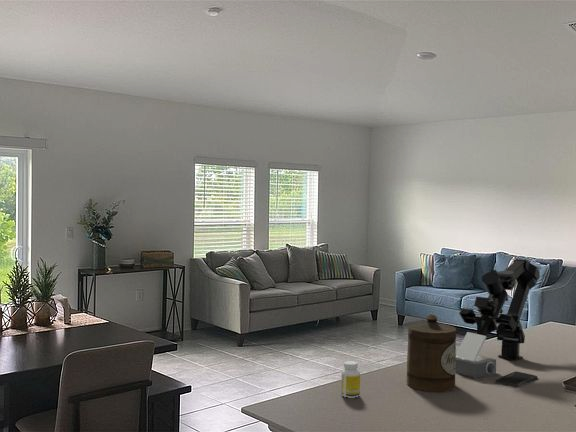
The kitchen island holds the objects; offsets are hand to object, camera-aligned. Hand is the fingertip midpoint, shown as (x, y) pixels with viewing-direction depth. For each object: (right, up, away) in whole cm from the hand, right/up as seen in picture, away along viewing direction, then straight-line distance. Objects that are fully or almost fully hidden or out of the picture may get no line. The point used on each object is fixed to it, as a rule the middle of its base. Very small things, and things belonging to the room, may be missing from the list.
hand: (478, 339), depth 208 cm
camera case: (-1, -11, 0) cm, 11 cm away
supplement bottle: (-45, -12, -26) cm, 54 cm away
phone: (+10, -12, -9) cm, 18 cm away
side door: (-3, -3, -2) cm, 4 cm away
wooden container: (-19, -12, -14) cm, 27 cm away
